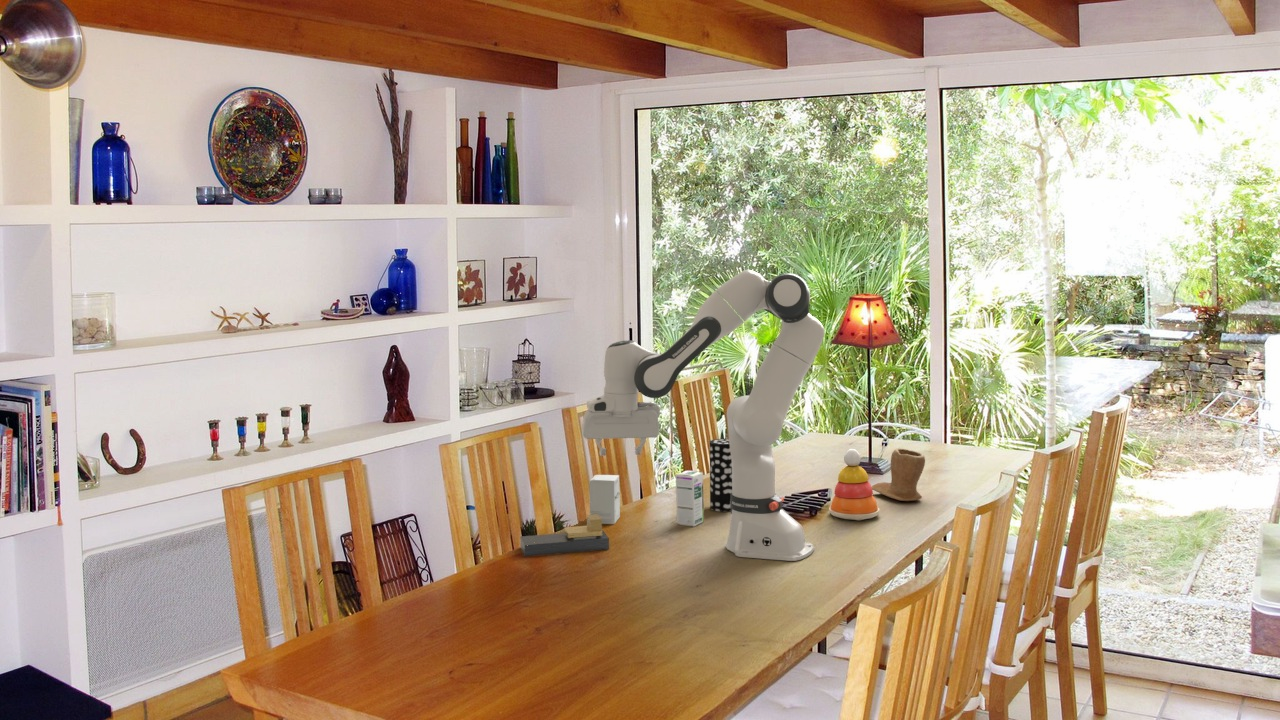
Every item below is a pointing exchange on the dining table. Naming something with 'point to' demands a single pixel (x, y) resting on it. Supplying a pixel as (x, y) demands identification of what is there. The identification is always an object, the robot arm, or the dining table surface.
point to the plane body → (562, 544)
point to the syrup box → (689, 498)
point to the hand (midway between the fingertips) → (620, 454)
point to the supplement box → (605, 498)
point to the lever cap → (586, 528)
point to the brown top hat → (903, 476)
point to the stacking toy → (853, 491)
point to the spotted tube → (720, 475)
